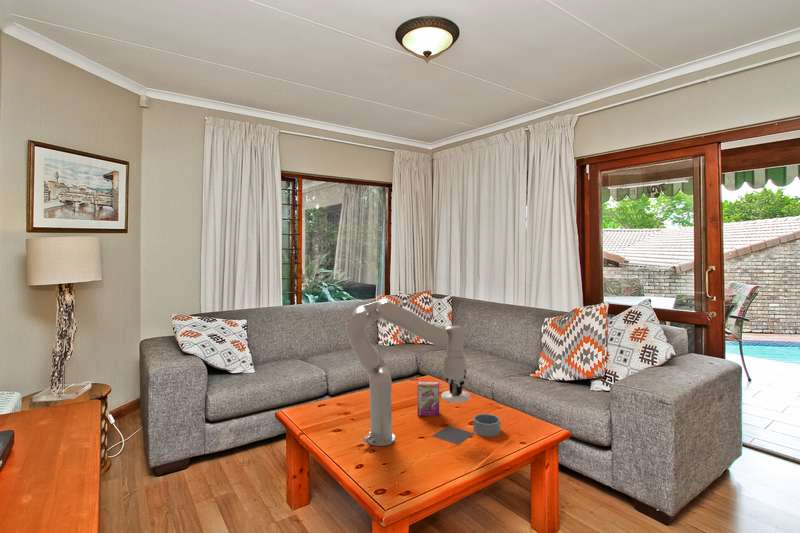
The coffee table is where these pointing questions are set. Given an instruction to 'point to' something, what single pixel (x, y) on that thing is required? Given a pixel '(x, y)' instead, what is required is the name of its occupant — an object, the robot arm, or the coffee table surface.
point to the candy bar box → (428, 398)
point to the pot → (486, 425)
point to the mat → (453, 435)
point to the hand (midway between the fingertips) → (455, 393)
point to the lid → (455, 395)
